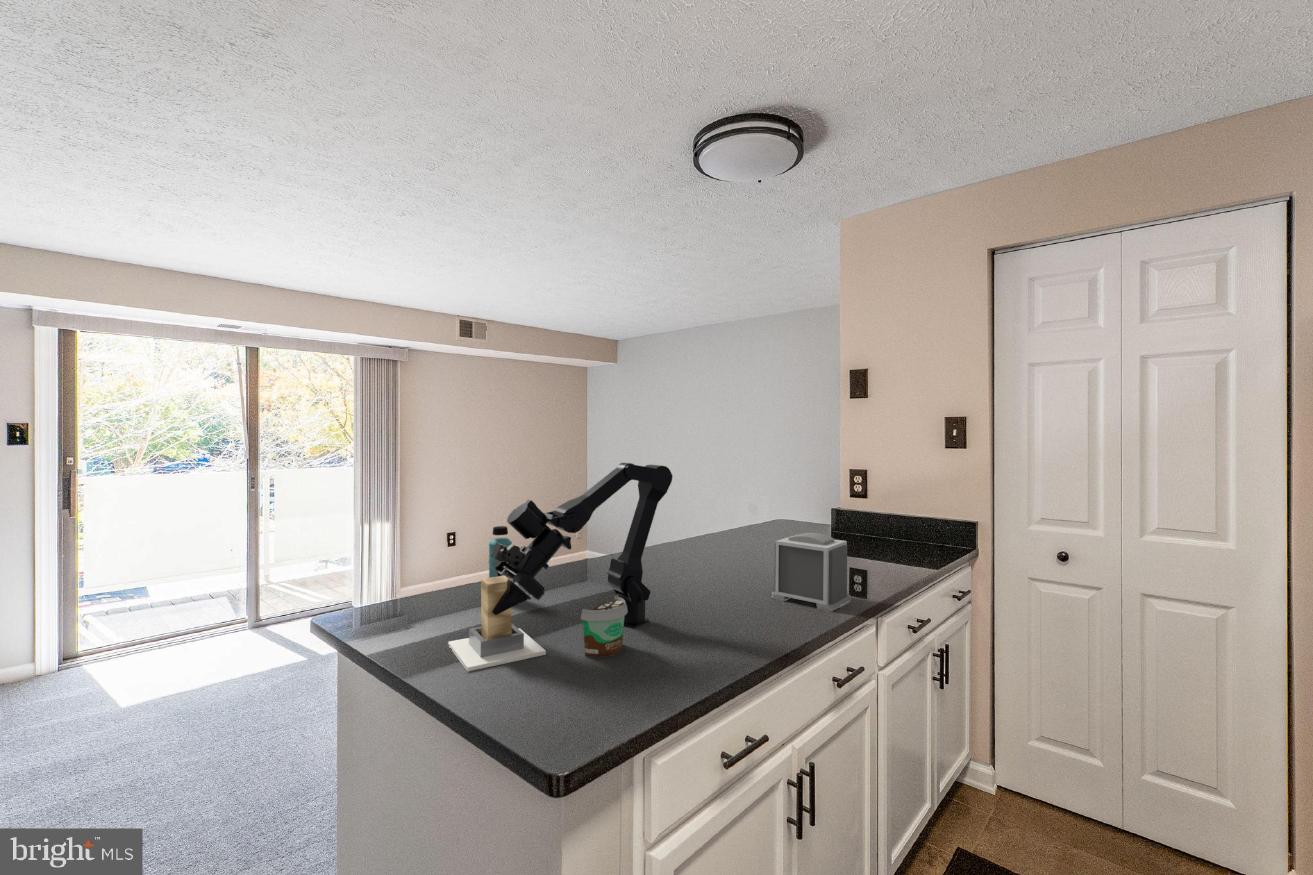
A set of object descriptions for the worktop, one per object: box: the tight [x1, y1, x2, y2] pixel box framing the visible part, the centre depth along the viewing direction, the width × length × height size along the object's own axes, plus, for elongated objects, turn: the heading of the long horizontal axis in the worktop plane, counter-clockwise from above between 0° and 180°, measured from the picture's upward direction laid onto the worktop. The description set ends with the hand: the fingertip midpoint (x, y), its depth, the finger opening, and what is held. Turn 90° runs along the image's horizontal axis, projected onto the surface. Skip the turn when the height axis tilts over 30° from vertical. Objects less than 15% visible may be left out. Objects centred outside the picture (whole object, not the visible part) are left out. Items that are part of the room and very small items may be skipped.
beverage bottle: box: [488, 525, 513, 578], centre depth 159 cm, size 6×7×20 cm
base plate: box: [447, 627, 547, 673], centre depth 121 cm, size 16×16×1 cm
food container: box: [580, 595, 628, 658], centre depth 121 cm, size 12×6×10 cm, turn 148°
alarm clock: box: [771, 532, 852, 608], centre depth 159 cm, size 18×13×18 cm
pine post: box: [480, 576, 513, 639], centre depth 121 cm, size 5×5×13 cm
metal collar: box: [468, 623, 524, 658], centre depth 121 cm, size 9×9×3 cm
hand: (489, 610), depth 121 cm, fingers closed on pine post, 5 cm apart
